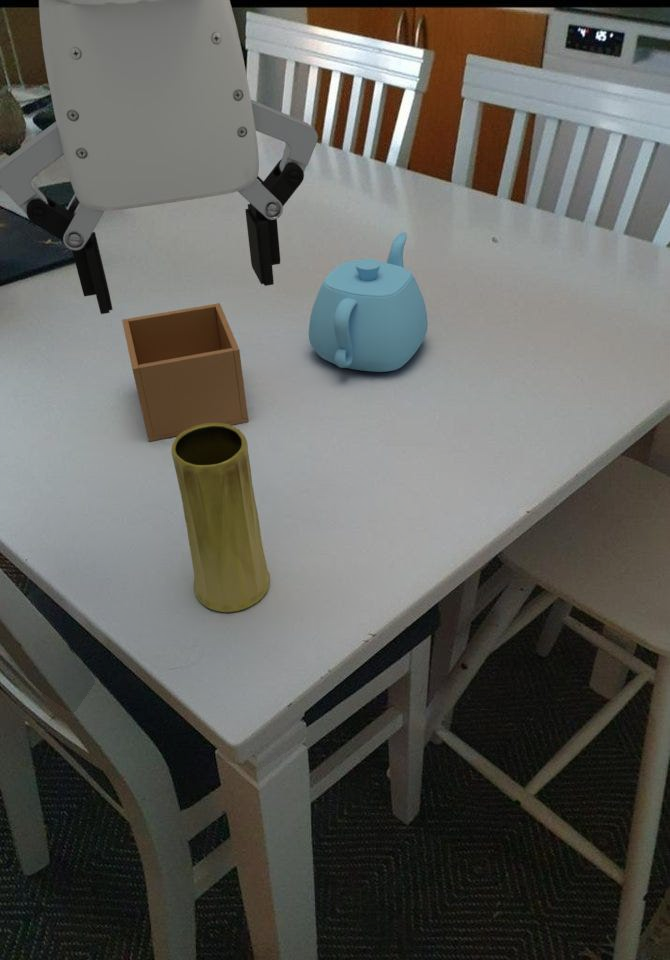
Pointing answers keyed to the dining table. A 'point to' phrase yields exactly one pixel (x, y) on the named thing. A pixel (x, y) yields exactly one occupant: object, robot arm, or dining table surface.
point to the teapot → (369, 314)
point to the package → (186, 370)
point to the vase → (221, 516)
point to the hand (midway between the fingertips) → (185, 289)
